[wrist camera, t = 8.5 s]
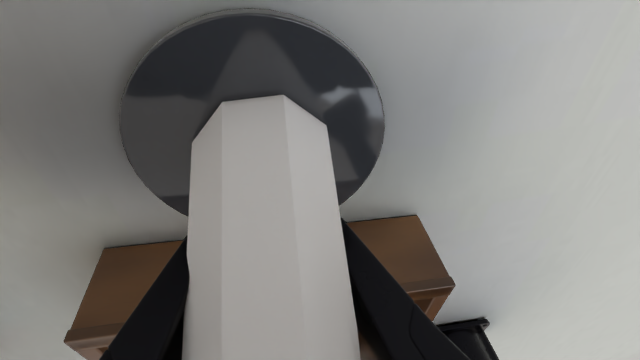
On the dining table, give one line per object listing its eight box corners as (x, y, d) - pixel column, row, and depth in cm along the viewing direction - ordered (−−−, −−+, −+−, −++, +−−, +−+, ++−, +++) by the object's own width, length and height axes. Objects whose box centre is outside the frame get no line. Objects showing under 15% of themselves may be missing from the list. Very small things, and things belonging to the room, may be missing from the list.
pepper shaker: (352, 109, 12) (571, 568, 4) (307, 207, 15) (373, 566, 7) (200, 71, 10) (-14, 819, 2) (186, 192, 13) (86, 658, 5)
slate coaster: (403, 7, 10) (411, 12, 10) (364, 212, 17) (367, 220, 16) (66, 8, 9) (57, 14, 8) (169, 232, 15) (167, 242, 15)
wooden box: (418, 213, 18) (456, 285, 15) (384, 303, 25) (405, 364, 22) (102, 247, 15) (62, 342, 12) (166, 335, 23) (152, 410, 19)
